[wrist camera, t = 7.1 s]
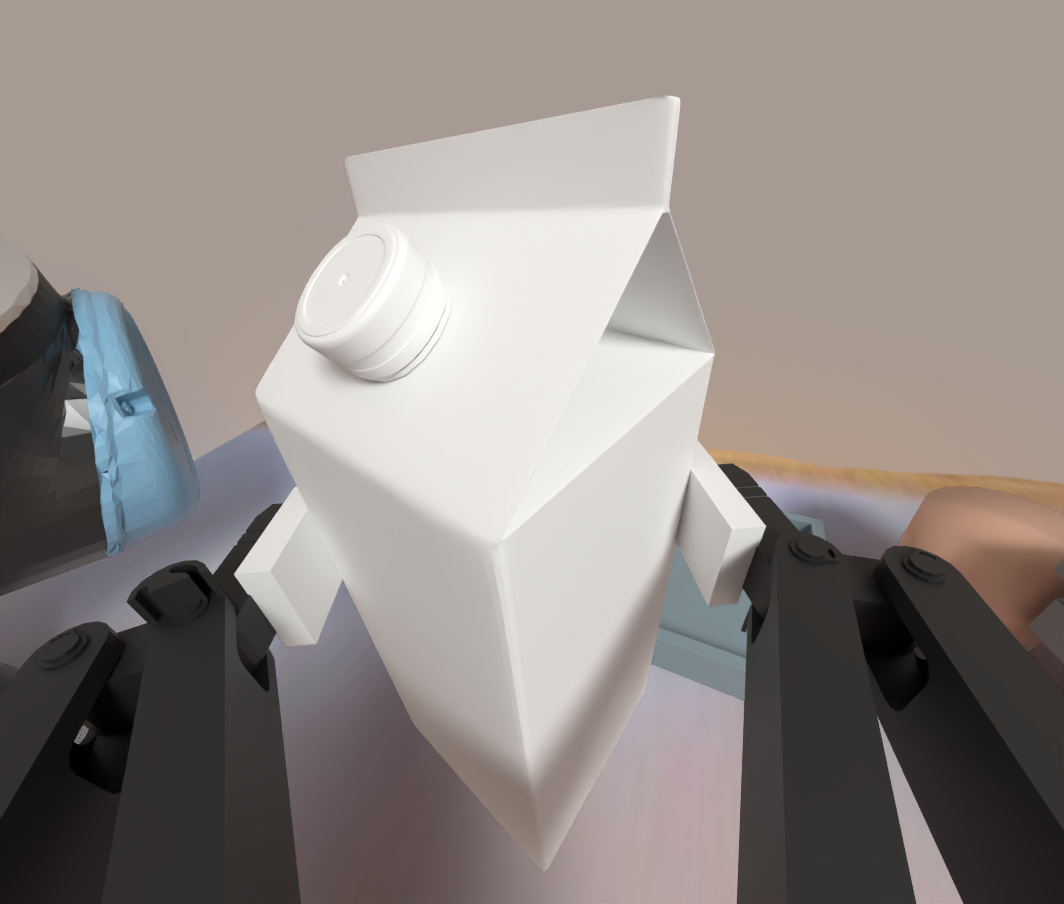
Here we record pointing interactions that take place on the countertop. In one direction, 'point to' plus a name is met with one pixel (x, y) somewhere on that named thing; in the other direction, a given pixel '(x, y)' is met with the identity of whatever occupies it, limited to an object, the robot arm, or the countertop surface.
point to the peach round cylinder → (996, 549)
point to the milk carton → (505, 437)
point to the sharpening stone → (1052, 623)
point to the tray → (708, 627)
